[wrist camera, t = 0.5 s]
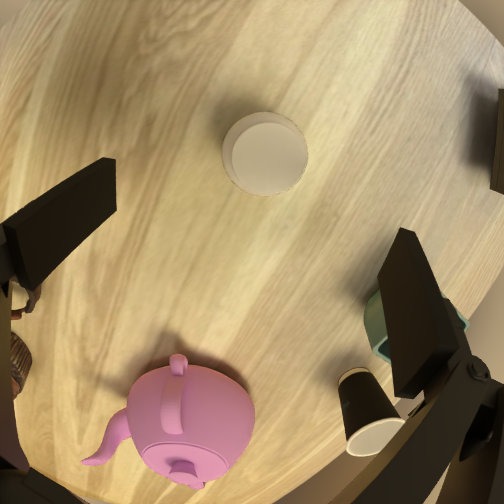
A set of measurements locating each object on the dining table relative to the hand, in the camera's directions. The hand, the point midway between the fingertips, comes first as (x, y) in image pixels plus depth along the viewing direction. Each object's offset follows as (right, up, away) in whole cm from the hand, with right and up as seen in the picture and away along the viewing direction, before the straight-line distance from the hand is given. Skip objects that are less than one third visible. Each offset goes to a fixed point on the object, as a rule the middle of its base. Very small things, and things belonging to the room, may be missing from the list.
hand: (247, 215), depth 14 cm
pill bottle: (+1, +8, +16) cm, 18 cm away
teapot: (-10, -22, +28) cm, 37 cm away
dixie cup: (+15, -20, +28) cm, 37 cm away
